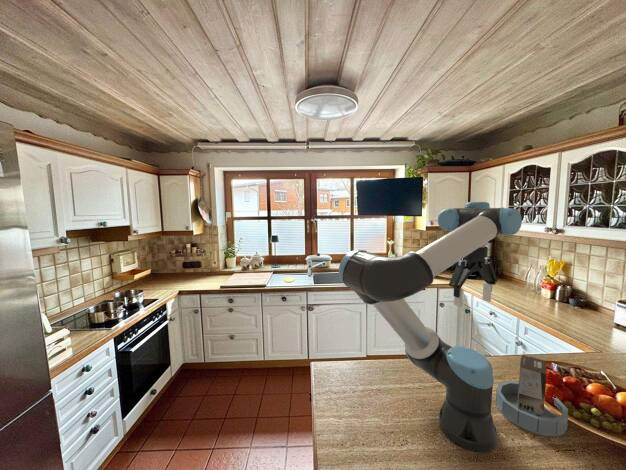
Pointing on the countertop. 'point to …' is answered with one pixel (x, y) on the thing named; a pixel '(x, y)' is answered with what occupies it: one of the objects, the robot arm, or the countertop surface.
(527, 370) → the coffee box
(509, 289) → the countertop surface
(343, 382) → the countertop surface
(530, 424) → the bowl
